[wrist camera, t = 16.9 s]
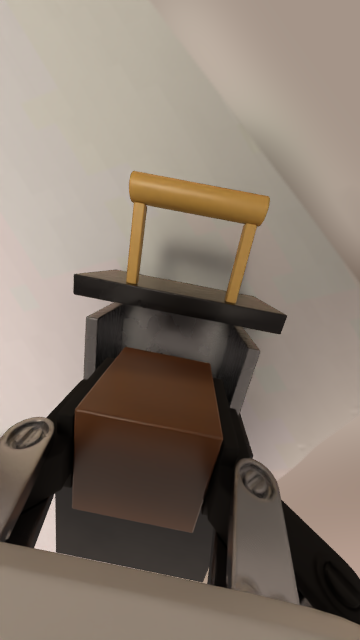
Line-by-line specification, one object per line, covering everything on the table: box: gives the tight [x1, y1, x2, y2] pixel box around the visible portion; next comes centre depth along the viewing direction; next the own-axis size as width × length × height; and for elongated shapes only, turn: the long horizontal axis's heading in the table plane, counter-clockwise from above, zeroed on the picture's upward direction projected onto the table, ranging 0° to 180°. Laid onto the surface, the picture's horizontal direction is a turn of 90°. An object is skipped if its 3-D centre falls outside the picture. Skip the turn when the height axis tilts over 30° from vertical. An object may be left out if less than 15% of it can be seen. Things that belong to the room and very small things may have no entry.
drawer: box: [74, 171, 287, 416], centre depth 15 cm, size 20×12×6 cm, turn 170°
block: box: [72, 347, 223, 533], centre depth 8 cm, size 4×4×4 cm
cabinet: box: [55, 413, 253, 582], centre depth 19 cm, size 16×14×8 cm
